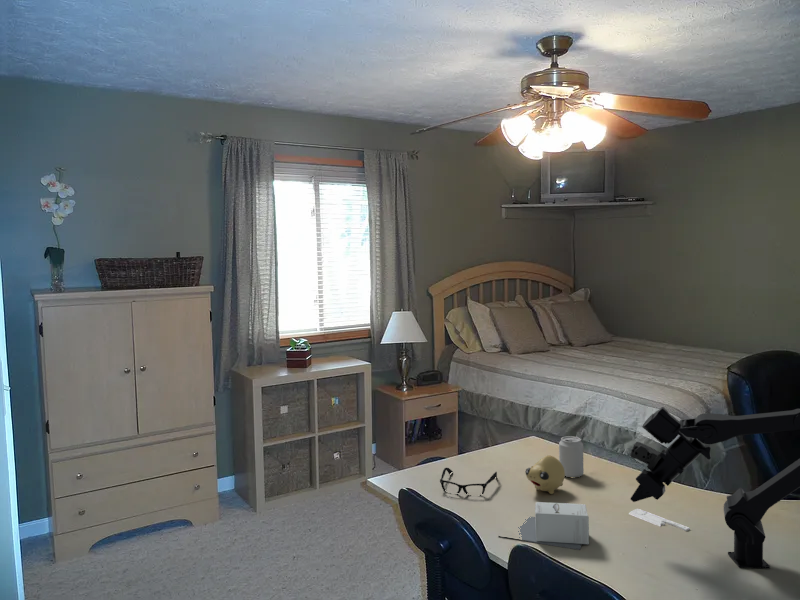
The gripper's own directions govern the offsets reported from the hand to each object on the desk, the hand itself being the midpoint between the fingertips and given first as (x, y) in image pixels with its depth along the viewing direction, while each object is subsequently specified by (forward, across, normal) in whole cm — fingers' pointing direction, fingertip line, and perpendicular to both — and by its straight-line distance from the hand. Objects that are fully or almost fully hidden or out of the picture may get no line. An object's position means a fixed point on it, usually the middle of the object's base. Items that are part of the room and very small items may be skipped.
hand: (632, 500), depth 146 cm
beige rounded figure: (+25, -22, -17) cm, 38 cm away
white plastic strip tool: (+5, -16, +9) cm, 19 cm away
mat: (+22, +3, -9) cm, 24 cm away
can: (+22, -39, -15) cm, 48 cm away
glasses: (+41, -16, -33) cm, 55 cm away
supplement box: (+12, +3, -3) cm, 12 cm away
